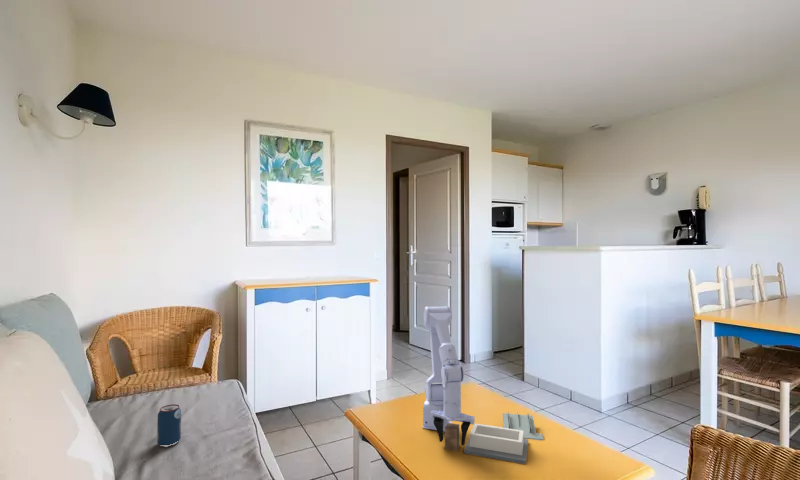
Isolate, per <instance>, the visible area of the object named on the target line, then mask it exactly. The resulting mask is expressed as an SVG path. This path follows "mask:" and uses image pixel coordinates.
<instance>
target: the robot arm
mask: <svg viewBox="0 0 800 480" xmlns="http://www.w3.org/2000/svg"><path fill="white" fill-rule="evenodd" d="M452 317H453V312H452V308H451V307H450V306H449V305H445V306H428V305H427V306H425V307H424V309H423V325H424V329H425V330H428V333H429V340H430V341H429V342H430V343H429V345H430V354H431V355H430V357H431V369H432V371H431V375H430V376H429V377H428V378H427V379H426V381H425V388H424V389H425V390H424V392H425V393H424V394H425V401H424V403H423V407H422V428H423V429H427V430H433V431H436V432H437V434H438V439H439V442H441V443H442V442H443V441H444V433H445V427H446V425H447V423H452V424H453V422H460V423H461V425H460V429H461V430H460V431H461V441H460V442H461V443H460V444H461V446H463V447H464V446H465V443H466V437H467V433H468V431H469V428H470V425H474V424H475V423H476V422H475V416H474V415H470V414H465V413H463V412H462V410H461V409H462V404H461V403H462V402H461V401H462V399H461V397H462V392H461V391H462V383H461V382H463V381H464V378H465V377H464V375H465V374H464V367H463V366H462V363H461V361H460V360H459V359H458V355H457V350H456V346H455V345H454V344H452V343H451V335H450V325H451V321H452Z"/></svg>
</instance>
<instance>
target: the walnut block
mask: <svg viewBox="0 0 800 480" xmlns="http://www.w3.org/2000/svg"><path fill="white" fill-rule="evenodd" d="M459 447H460V424H457V423H453V422H452V423H447V425H446V427H445V432H444V449H445V450H448V451H452V452H458V450H459Z"/></svg>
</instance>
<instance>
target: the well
mask: <svg viewBox="0 0 800 480" xmlns="http://www.w3.org/2000/svg"><path fill="white" fill-rule="evenodd" d="M528 446H529V439H524V431H522V430H516V429H509V428H504V427H502V426H496V425H488V424H482V423H476V422H474V424H473V426H472V428H471V431H470V433H469V438H468V441H467V443H466V445H465V447H464V449H463V451H464V452H463V454H467V455H472V456H477V457H484V458H489V459H495V460H501V461H506V462H512V463H516V464H523V465H526V464H527V459H528V457H527V456H528V449H529V447H528Z"/></svg>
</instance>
